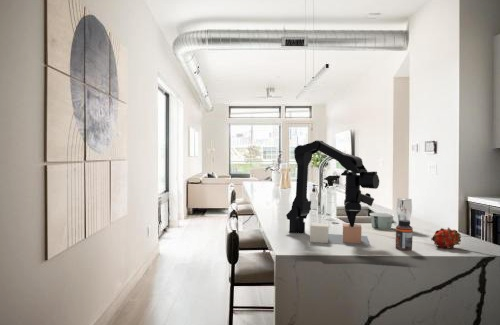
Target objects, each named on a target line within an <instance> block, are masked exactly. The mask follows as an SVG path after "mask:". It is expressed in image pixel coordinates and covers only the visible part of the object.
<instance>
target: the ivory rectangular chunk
mask: <svg viewBox="0 0 500 325" xmlns="http://www.w3.org/2000/svg"><path fill="white" fill-rule="evenodd" d="M309 226H310V227H309V228H310V229H309V230H310V231H309V240H310V242H322V243H321V244H324V243H328V235H329V234H330V232H329V230H330V228H329V226H330V225H329V223H321V222H320V223H319V222H311V223H310V225H309Z"/></svg>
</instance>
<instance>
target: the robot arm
mask: <svg viewBox="0 0 500 325" xmlns="http://www.w3.org/2000/svg"><path fill="white" fill-rule="evenodd" d="M318 152H321V153H322V154H325V155H326V156H328V157H330V158H331V159H333V160H335V161H337V162H338V163H339V164H340V165H341V167H343V168H344V169H345V170H344V171H343V172H342V173H341V174H340V176H341V177H342V176H343V177H344V176H345V190H344V191H345V193H344V194H345V196H344V197H345V198H344V201H343V202H344V204H343V205H344V212H345V214H346V218H347V219H348V222H349V223H348V224H350V226H351V227H354V224H356V223H355V222H356V218H357V216H358V214H359V213H361V211H362V204H361V203H363V204H366V205H368V206H369V207H372V206H373V203H374V201H375V198H373V197H372V196H371V193H369V192H366V193H365V194H364V193H362V191H361V188H362V189H372V190H374V189H375V190H376V189H378V188H379V186H380V178H379V176H378V172H377V171H368V170H367V168H366V167H365V166H364V164H363V163H364V162H363V159H362V158H361V157H359V156H358V155H357V156H356V155H353V154H348V153H345V152H343V151H341V150H339V149H338V148H335V147H334V146H332V145H330V144H328V143H327V142H324V141H323V140H314V141H312V142H309V143H306V144H303V145H296V147H294V150H293V154H294V160H295V163H296V165H297V166H296V167H297V168H296V186H295V187H296V189H295V197H294V199H293V201H292V202H291V203H292V204H291V209H290V210H289V211H288V213H287V214H286V219H287V220H289V226H288V228H289V231H288V234H304V233H305V232H306V221H305V219H307V217H308V215H309V214H310V212H311V210H312V207H311V205H312V201H311V200H309V199H308V196H307V194H308V175H309V165H310V164H311V161H312V158H313V155H314V154H316V153H318ZM360 187H361V188H360Z"/></svg>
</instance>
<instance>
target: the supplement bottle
mask: <svg viewBox="0 0 500 325" xmlns="http://www.w3.org/2000/svg"><path fill="white" fill-rule="evenodd" d="M413 230H414V229H413V226H411V220H410V221H409V220H399V225H398V224H397V225H396V227H395V249H396V250H398V251H408V252H409V251H412V250H413V233H414V232H413Z"/></svg>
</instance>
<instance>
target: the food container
mask: <svg viewBox="0 0 500 325" xmlns="http://www.w3.org/2000/svg"><path fill="white" fill-rule="evenodd" d="M369 216H370V221H371V222H370V223H371V227H372V228H374V229H379V230H390V229H392V226H393V225H392V224H393V220H394V217H395V215H394V214H392V213H388V212H387V213H386V212H370V213H369Z"/></svg>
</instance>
